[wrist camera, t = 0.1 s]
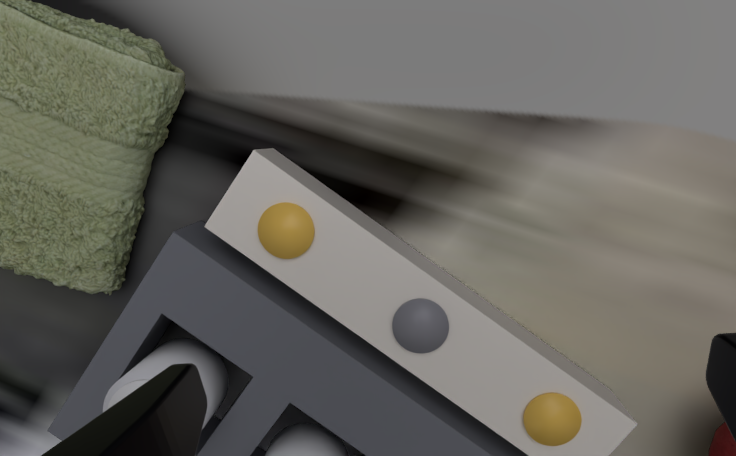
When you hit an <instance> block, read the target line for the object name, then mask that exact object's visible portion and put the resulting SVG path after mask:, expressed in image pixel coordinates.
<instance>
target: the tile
mask: <svg viewBox="0 0 736 456" xmlns="http://www.w3.org/2000/svg"><path fill="white" fill-rule="evenodd" d="M204 227H205V228H207V229H208V230H210V231H211V232H212V233H214V234H215V235H217V236H218V237H220V238H221V239H222V240H224V241H225V242H227V243H228V244H229V245H231V246H232V247H234V248H235V249H237V250H238V251H239V252H241V253H242V254H244V255H245V256H246V257H248V258H249V259H251V260H252V261H254V262H255V263H256V264H258V265H259V266H261V267H262V268H263V269H265V270H266V271H268V272H269V273H271V274H272V275H273V276H275V277H276V278H278V279H279V280H280V281H282V282H283V283H285V284H286V285H288V286H289V287H290V288H292V289H293V290H295V291H296V292H297V293H299V294H300V295H302V296H303V297H305V298H306V299H307V300H309V301H310V302H312V303H313V304H314V305H316V306H317V307H319V308H320V309H322V310H323V311H324V312H326V313H327V314H329V315H330V316H332V317H333V318H334V319H336V320H337V321H339V322H340V323H341V324H343V325H344V326H346V327H347V328H349V329H350V330H351V331H353V332H354V333H356V334H357V335H358V336H360V337H361V338H363V339H364V340H366V341H367V342H368V343H370V344H371V345H373V346H374V347H375V348H377V349H378V350H380V351H381V352H383V353H384V354H385V355H387V356H388V357H390V358H391V359H392V360H394V361H395V362H397V363H398V364H400V365H401V366H402V367H404V368H405V369H407V370H408V371H409V372H411V373H412V374H414V375H415V376H417V377H418V378H419V379H421V380H422V381H424V382H425V383H426V384H428V385H429V386H431V387H432V388H434V389H435V390H436V391H438V392H439V393H441V394H442V395H443V396H445V397H446V398H448V399H449V400H451V401H452V402H453V403H455V404H456V405H458V406H459V407H461V408H462V409H463V410H465V411H466V412H468V413H469V414H470V415H472V416H473V417H475V418H476V419H478V420H479V421H480V422H482V423H483V424H485V425H486V426H487V427H489V428H490V429H492V430H493V431H495V432H496V433H497V434H499V435H500V436H502V437H503V438H504V439H506V440H507V441H509V442H510V443H512V444H513V445H514V446H516V447H517V448H519V449H520V450H521V451H523V452H524V453H526V454H527V455H529V456H609V455H610V454H611V452H612V451H613V450H614V449H615V448H616V447H617V446H618V445H619V444H620V443H621V442H622V441H623V440H624V439H625V438H626V437H627V435H628V434H629V433H630V432H631V431H632V430H633V429H634V428H635V427H636V426H637V425H638V424H637V422H636V421H635V420H634V419H633V417H632V416H631V415H630V413H629V412H628V411H627V410H626V408H625V407H624V406H623V405H622V403H621V402H620V401H619V399H618V398H617V397H616V396H615V394H614V393H613V392H612V390H610V389H609V388H608V387H606V386H605V385H603V384H602V383H601V382H599V381H598V380H596V379H595V378H594V377H592V376H591V375H589V374H588V373H587V372H585V371H584V370H582V369H581V368H580V367H578V366H577V365H575V364H574V363H573V362H571V361H570V360H568V359H567V358H566V357H564V356H563V355H561V354H560V353H559V352H557V351H556V350H554V349H553V348H552V347H550V346H549V345H548V344H546V343H545V342H543V341H542V340H541V339H539V338H538V337H536V336H535V335H534V334H532V333H531V332H529V331H528V330H527V329H525V328H524V327H522V326H521V325H520V324H518V323H517V322H515V321H514V320H513V319H511V318H510V317H508V316H507V315H506V314H504V313H503V312H501V311H500V310H499V309H497V308H496V307H494V306H493V305H492V304H490V303H489V302H487V301H486V300H485V299H483V298H482V297H480V296H479V295H478V294H476V293H475V292H473V291H472V290H471V289H469V288H468V287H466V286H465V285H464V284H462V283H461V282H459V281H458V280H457V279H455V278H454V277H452V276H451V275H450V274H448V273H447V272H445V271H444V270H443V269H441V268H440V267H438V266H437V265H436V264H434V263H433V262H431V261H430V260H429V259H427V258H426V257H424V256H423V255H422V254H420V253H419V252H418V251H416V250H415V249H413V248H412V247H411V246H409V245H408V244H406V243H405V242H404V241H402V240H401V239H399V238H398V237H397V236H395V235H394V234H392V233H391V232H390V231H388V230H387V229H385V228H384V227H383V226H381V225H380V224H378V223H377V222H376V221H374V220H373V219H371V218H370V217H369V216H367V215H366V214H364V213H363V212H362V211H360V210H359V209H357V208H356V207H355V206H353V205H352V204H350V203H349V202H348V201H346V200H345V199H343V198H342V197H341V196H339V195H338V194H336V193H335V192H334V191H332V190H331V189H329V188H328V187H327V186H325V185H324V184H322V183H321V182H320V181H318V180H317V179H315V178H314V177H313V176H311V175H310V174H308V173H307V172H306V171H304V170H303V169H301V168H300V167H299V166H297V165H296V164H294V163H293V162H292V161H290V160H289V159H287V158H286V157H285V156H283V155H282V154H281V153H279V152H278V151H276V150H275V149H274V148H270V149H258V150H253V152H252V153H251V155H250V156H249V158H248V160H247V161H246V163H245V164H244V166H243V167H242V169H241V170H240V172H239V173H238V175H237V177H236V178H235V180H234V181H233V183H232V184H231V186H230V187H229V189H228V191H227V192H226V194H225V195H224V197H223V198H222V200H221V201H220V203H219V204H218V206H217V208H216V209H215V211H214V212H213V214H212V215H211V217H210V218H209V220H208V221H207V223H206V225H205V226H204Z"/></svg>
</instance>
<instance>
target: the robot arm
mask: <svg viewBox="0 0 736 456" xmlns="http://www.w3.org/2000/svg"><path fill="white" fill-rule="evenodd" d="M706 381H707V385H708V388H709V390H710V392H711V394H712V396H713V398H714V400H715V402H716V404H717V406H718V408H719V410H720V412H721V414H722V416H723V418H724V420H725V422H726V424H727V426H728V428H729V430H730V432H731V434H732V436H733V438H734V440H735V442H736V333H724V334H718V335H716V336H714V338H713V339H712V343H711V348H710V353H709V358H708V364H707V369H706ZM206 411H207V396H206V393H205V390H204V387H203V383H202V380H201V377H200V374H199V371H198V368H197V367H196V365H194V364H192V363H184V364H173V365H171V366H169V367H168V368H166V369H165V370H163V371H162V372H160V373H159V374H158V375H156V376H155V377H153V378H152V379H150V380H149V381H148V382H146V383H145V384H143V385H142V386H140V387H139V388H137V389H136V390H135V391H133V392H132V393H130V394H129V395H127V396H126V397H125V398H123V399H122V400H120V401H119V402H117V403H116V404H115V405H113V406H112V407H110V408H109V409H107V410H106V411H105V412H103V413H102V414H100V415H99V416H97V417H96V418H95V419H93V420H92V421H90V422H89V423H87V424H86V425H84V426H83V427H82V428H80V429H79V430H77V431H76V432H74V433H73V434H72V435H70V436H69V437H67V438H66V439H64V440H63V441H62V442H60V443H59V444H57V445H56V446H54V447H53V448H52V449H50V450H49V451H47V452H46V453H44V454H43V455H42V456H195V454H196V450H197V446H198V443H199V439H200V435H201V431H202V427H203V423H204V419H205V416H206Z"/></svg>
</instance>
